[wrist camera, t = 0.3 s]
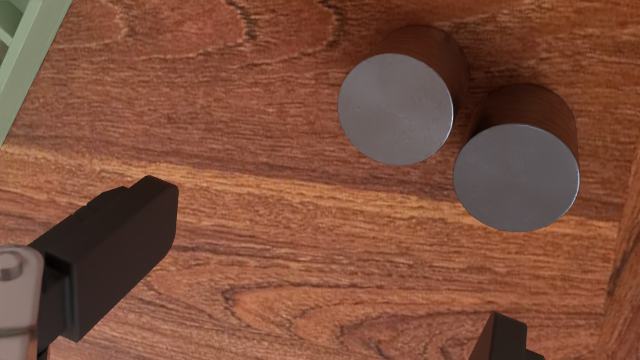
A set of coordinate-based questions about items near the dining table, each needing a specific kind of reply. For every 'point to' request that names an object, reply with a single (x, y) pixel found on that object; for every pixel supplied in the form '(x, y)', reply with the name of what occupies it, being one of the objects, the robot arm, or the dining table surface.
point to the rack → (24, 49)
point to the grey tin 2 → (518, 159)
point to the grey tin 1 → (404, 95)
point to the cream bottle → (3, 51)
